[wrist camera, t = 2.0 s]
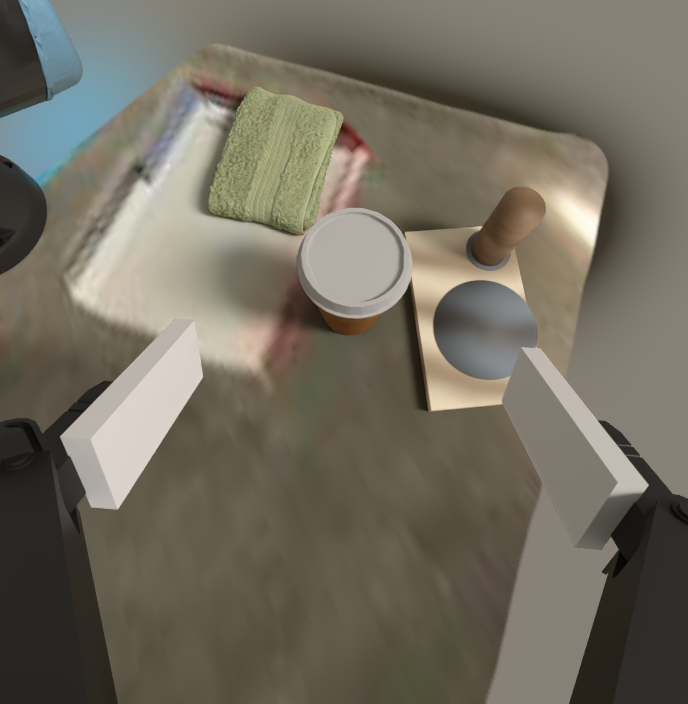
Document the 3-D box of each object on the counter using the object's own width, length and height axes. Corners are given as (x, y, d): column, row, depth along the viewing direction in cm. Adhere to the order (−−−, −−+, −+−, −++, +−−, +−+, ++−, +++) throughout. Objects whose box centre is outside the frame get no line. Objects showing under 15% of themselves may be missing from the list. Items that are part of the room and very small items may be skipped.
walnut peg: (467, 234, 42) (497, 188, 34) (502, 232, 42) (540, 185, 34) (474, 267, 41) (506, 227, 33) (509, 264, 41) (550, 224, 33)
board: (403, 237, 43) (405, 231, 42) (508, 229, 44) (513, 223, 42) (428, 411, 39) (431, 410, 37) (545, 400, 39) (552, 399, 38)
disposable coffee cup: (376, 258, 43) (392, 189, 31) (404, 335, 40) (432, 293, 29) (296, 281, 42) (280, 219, 30) (320, 361, 40) (314, 328, 28)
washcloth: (346, 120, 47) (347, 97, 44) (311, 243, 43) (309, 227, 40) (247, 99, 48) (240, 75, 45) (203, 218, 44) (193, 201, 41)
